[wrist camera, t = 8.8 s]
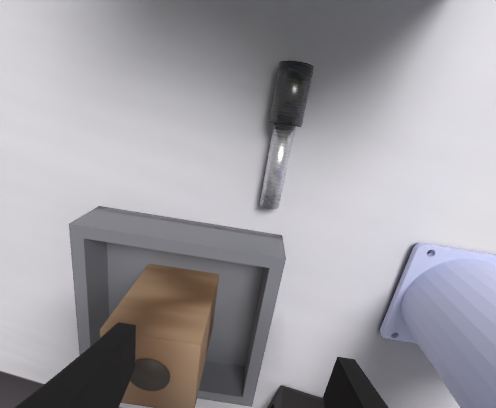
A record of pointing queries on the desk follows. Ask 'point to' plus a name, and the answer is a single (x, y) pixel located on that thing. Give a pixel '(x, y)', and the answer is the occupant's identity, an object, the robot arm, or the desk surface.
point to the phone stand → (295, 399)
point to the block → (168, 334)
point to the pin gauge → (284, 125)
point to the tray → (186, 257)
